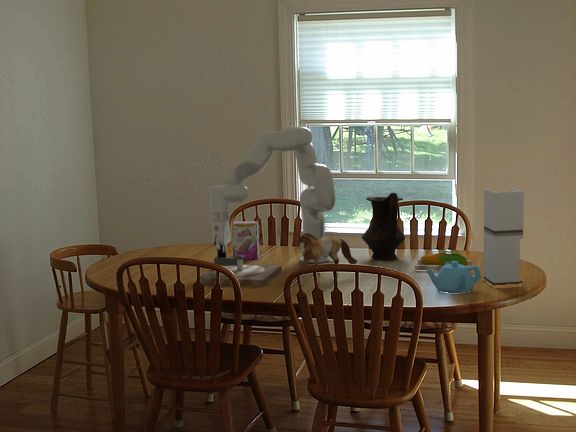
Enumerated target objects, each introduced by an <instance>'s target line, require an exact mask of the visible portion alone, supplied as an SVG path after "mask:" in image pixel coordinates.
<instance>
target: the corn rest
mask: <svg viewBox="0 0 576 432" xmlns="http://www.w3.org/2000/svg"><path fill="white" fill-rule="evenodd" d="M425 264H427V263H425V262H423V261H422V260H421V258H419V259H417V264H414V271H415V270H428V269H431V270H433V271H440V269H441V268H442V267H443V266H440V265H425ZM467 265H472V266H473V260H467ZM466 267H469V266H466Z"/></svg>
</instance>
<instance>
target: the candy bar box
mask: <svg viewBox="0 0 576 432" xmlns="http://www.w3.org/2000/svg"><path fill="white" fill-rule="evenodd" d="M231 225H232V226H231V227H232V257H235V256H236V255H244V258H243V260H258V259H259V258H260V241H259V240H260V236H259V233H260V232H259V230H260V229H259V221H233V222H232V223H231Z"/></svg>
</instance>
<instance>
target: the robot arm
mask: <svg viewBox="0 0 576 432" xmlns="http://www.w3.org/2000/svg"><path fill="white" fill-rule="evenodd" d="M312 141H313V133H312V131H311V130H310V129H309V128H308V127H305V126H294V125H287V126H283V127H282V128H281V129H280V130H278V131H277V130H267V131H264V132H263V133H262V134H261V135H260V136H259V137H258V138H257V140H256V142H255V144H254V145H253V146H252V148H251V150H250V151H249V152H248V154H247V155H246V157H245V158H244V159H243V160H242V161H241V162H239V163H238V164H237V165H236V166H235V167H234V168H233V169H232V170H231V171H230V172H229V173H228V174H227V175H226V177H225V179H224V180H223V182H222V183H221V184H220V185H212V186H210V188H209V209H210V222H212V225H211V227H212V230H211V231H212V232H211V233H212V245H213V246H215V250H216V252H217V253H216V254H217V257H227V245H228V244H230V243H231V242H232V235H231V226H230V225H231V224H230V220H231V219H230V203H232V204H233V203H235V204H236V203H238V204H239V203H243V202H245V201H247V199H248V198H249V195H250V191H249V188H248V187H247V186H246V185H243V183H244V182H245V181H246V180H248V179H249V178H250V177H252V176H254V175H257V174H260V173H261V172H262V171H264V169H265V167H266V166H267V164H268V163H269V161H270V160H271V158H272V157H273V155H274V154H275V153H285V152H291V151H292V152H293V153H294V155H295V159H296V164H297V171H298V176H299V181H300V182H301V184H303V185H304V186H311V187H307V188H305V189H303V190H302V191H301V193H300V196H299V204H300V210H301V216H302V218H301V219H302V235H303V234H305V233H309V234H311V235H312V236H314V237H316V238H317V239H321V238H322V237H324V236H326V234H325V233H326V232H325V231H326V230H325V229H326V227H325V226H326V224H325V221H326V220H325V215H324V213H328V212H330V211H333V209H334V208H335V206H336V205H335V204H336V191H335V184H334V178H333V174H332V171H331V169H330V168H329V167H328V166H327V165H325V164H321V163H318V159H317V154H316V153H317V152H316V149H315V147H314V145H313V143H312ZM303 259H304V257H303V255H302V256H300V257H299V261H300V262H302V263H303ZM329 259H330V256H329V254H327V255H325V256H322V257H320V258H319V264H321V263H325V262H328V261H329ZM307 264H316V263H315V261H314V260H313V259H311V260H309V261H308V263H307Z"/></svg>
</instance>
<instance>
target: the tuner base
mask: <svg viewBox="0 0 576 432" xmlns="http://www.w3.org/2000/svg"><path fill="white" fill-rule="evenodd" d="M224 267H226V268H227V269H229V270H230V271H232V272H233V273H234V274H235V276H236V277H237V279H238V281H239V283H240V285H241V286H242V287H265V286H266V285H267V284H268V283H270V282H271V281H272V280H273V279H274V278H276V277H277V276H278V275H279V274H281V271H283V270H282V265H280V264H278V265H277V264H274V265H273V264H244V263H243V270H237V266H224ZM199 276H200V279H201V282H202V283H203V284H202V285H204V286H205V285H207V286H208V285H210V286H212V285H214V286H216V285H215V283H216V272H215V271H212V270H209V269H208V270H207V271H205V272H204V273H202V274H201V275H199ZM219 286H233V285H232V283H231V281H230V279H229V278H228V277H226V276H225V275H223V274H221V273H220V285H219ZM241 286H240V287H241Z"/></svg>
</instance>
